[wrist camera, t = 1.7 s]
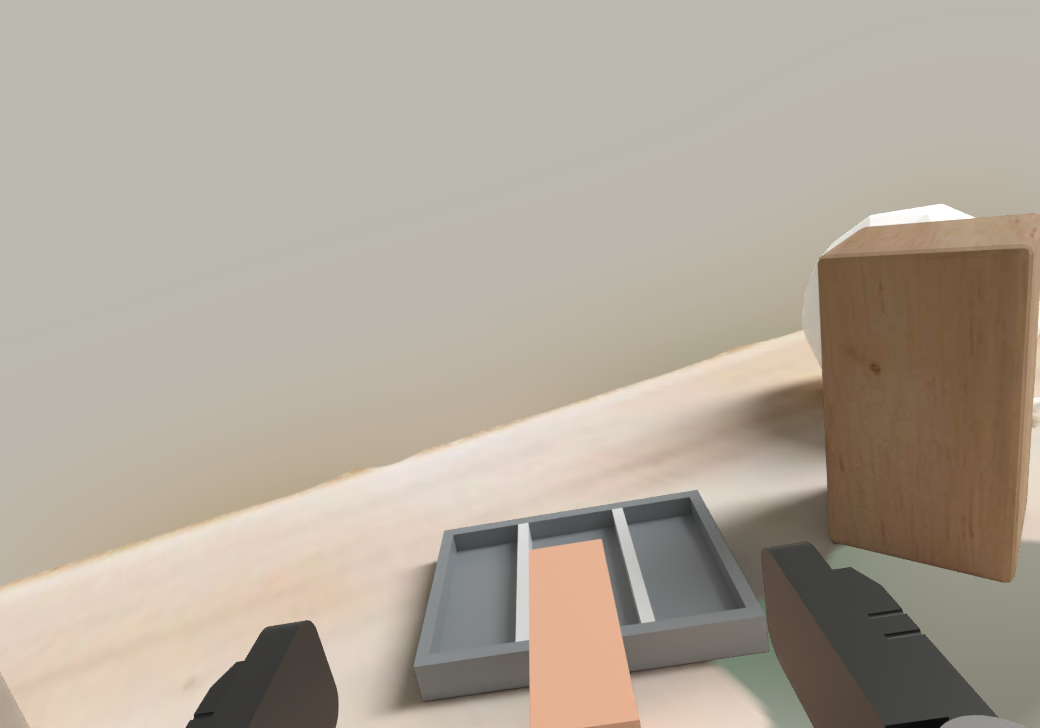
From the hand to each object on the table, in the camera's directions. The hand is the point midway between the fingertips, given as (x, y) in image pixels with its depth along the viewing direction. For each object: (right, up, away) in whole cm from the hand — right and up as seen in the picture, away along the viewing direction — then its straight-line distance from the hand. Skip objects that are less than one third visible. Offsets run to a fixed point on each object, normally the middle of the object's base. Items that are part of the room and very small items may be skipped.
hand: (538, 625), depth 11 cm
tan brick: (+4, -16, +16) cm, 23 cm away
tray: (+4, -11, +31) cm, 33 cm away
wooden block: (+28, -7, +31) cm, 42 cm away
